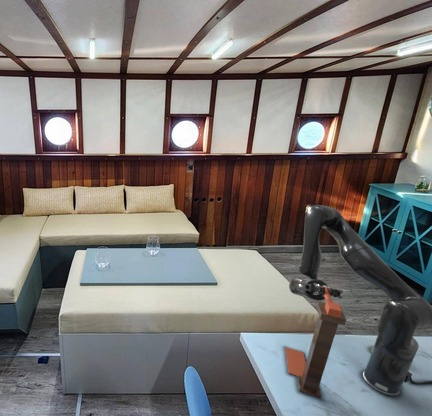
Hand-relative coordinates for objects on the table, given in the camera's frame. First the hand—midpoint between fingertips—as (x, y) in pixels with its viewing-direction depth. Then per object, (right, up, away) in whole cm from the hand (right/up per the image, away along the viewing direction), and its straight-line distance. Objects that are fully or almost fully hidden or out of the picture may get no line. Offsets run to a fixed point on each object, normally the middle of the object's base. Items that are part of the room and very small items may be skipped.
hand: (327, 291), depth 92 cm
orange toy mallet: (-1, -3, -2) cm, 4 cm away
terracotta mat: (-1, -31, +14) cm, 34 cm away
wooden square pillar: (-3, -34, +5) cm, 34 cm away
